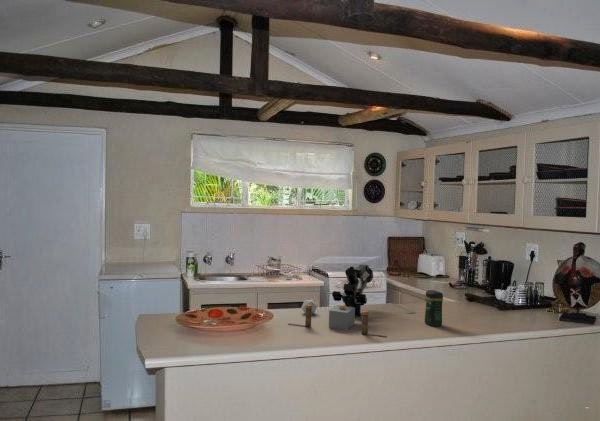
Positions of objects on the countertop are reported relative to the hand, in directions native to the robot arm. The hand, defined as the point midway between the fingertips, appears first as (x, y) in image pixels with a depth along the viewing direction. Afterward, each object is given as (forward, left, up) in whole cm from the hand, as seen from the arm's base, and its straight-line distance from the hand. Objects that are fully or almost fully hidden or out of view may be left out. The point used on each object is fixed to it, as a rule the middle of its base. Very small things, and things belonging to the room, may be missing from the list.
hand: (346, 310), depth 272 cm
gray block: (+7, 0, -7) cm, 10 cm away
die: (-10, -25, -7) cm, 28 cm away
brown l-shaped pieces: (+18, 0, -7) cm, 19 cm away
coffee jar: (-19, +44, -7) cm, 48 cm away
